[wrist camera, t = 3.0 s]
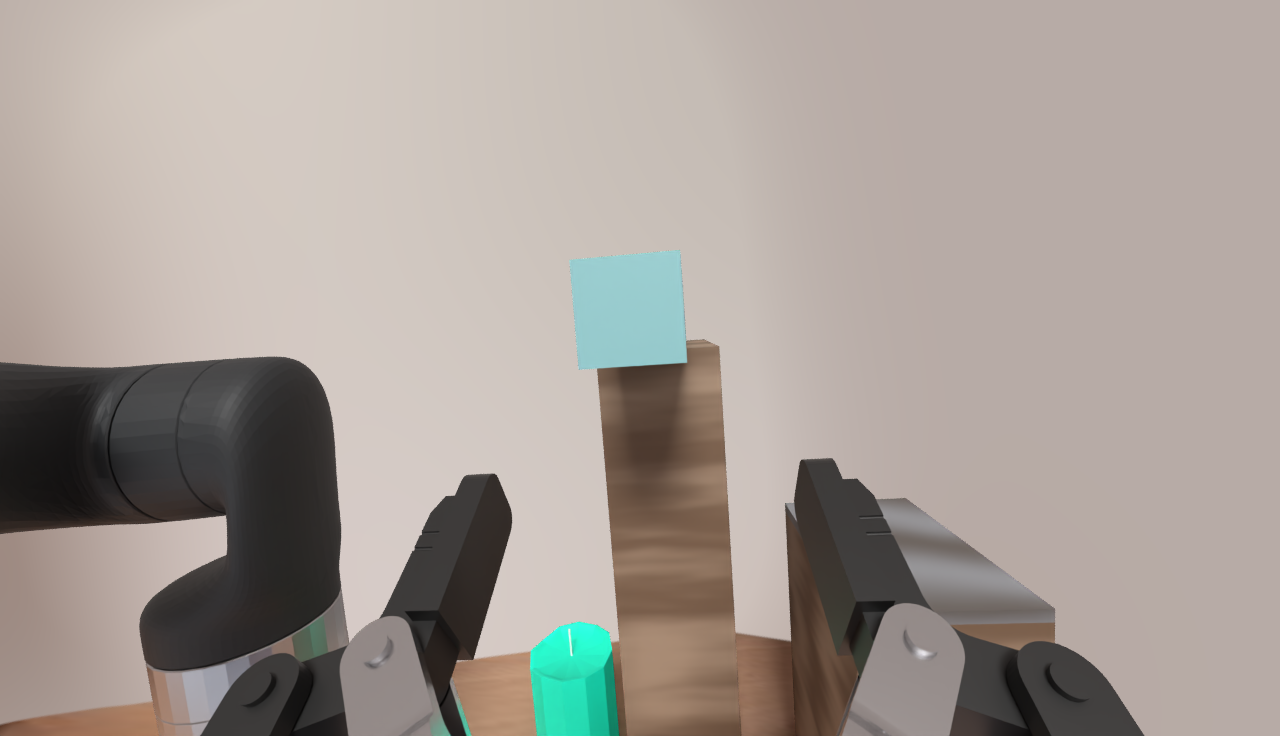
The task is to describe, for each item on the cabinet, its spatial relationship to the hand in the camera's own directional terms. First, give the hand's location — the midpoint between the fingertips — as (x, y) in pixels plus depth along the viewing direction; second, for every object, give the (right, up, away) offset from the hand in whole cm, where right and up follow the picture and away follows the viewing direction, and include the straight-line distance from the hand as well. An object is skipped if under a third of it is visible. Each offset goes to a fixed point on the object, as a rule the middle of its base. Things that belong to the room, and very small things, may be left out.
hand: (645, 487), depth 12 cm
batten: (+1, +4, +15) cm, 16 cm away
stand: (+4, -27, +22) cm, 35 cm away
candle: (-4, -28, +22) cm, 36 cm away
